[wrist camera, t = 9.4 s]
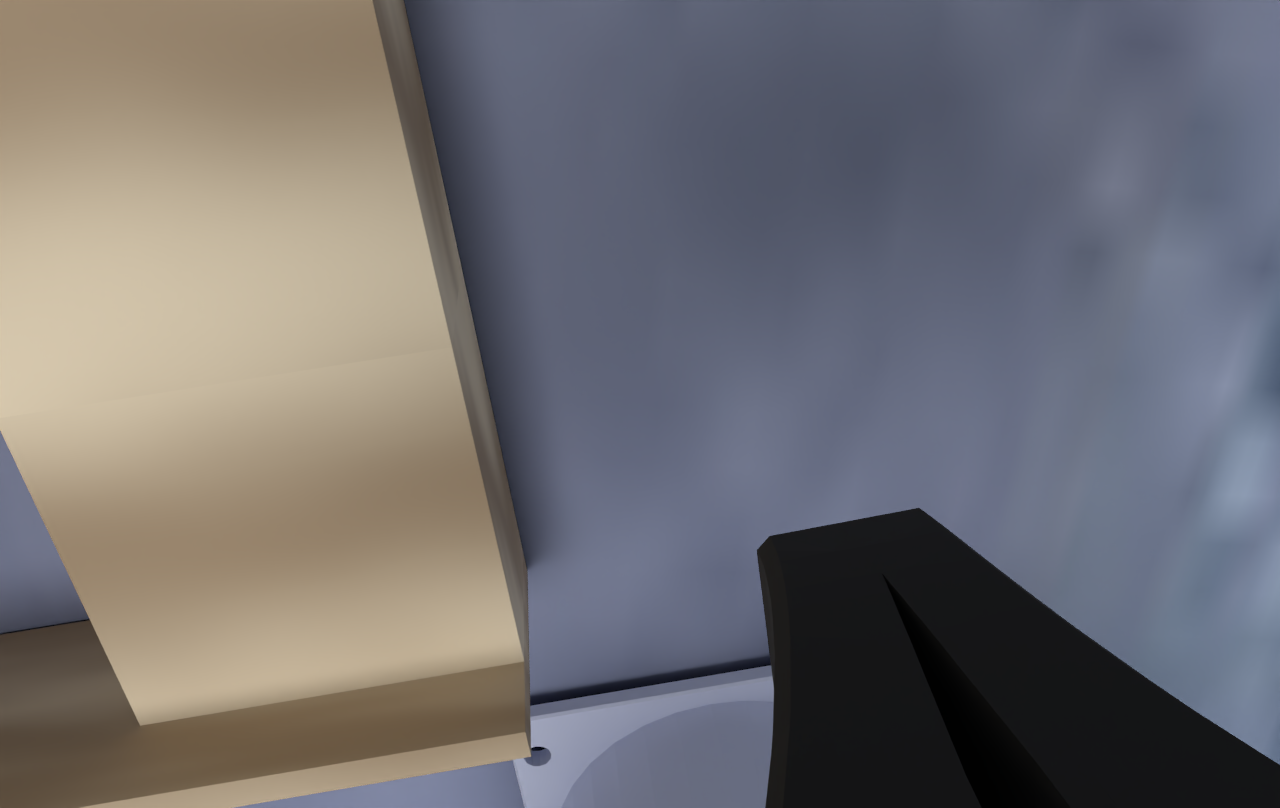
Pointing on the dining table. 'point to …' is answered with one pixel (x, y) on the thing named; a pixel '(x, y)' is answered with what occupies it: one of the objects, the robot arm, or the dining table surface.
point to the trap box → (245, 412)
